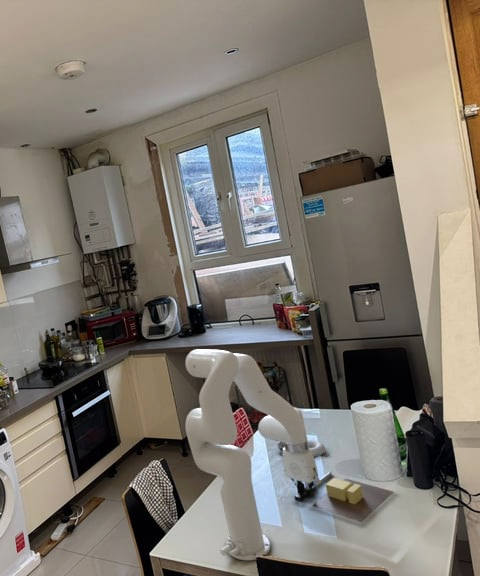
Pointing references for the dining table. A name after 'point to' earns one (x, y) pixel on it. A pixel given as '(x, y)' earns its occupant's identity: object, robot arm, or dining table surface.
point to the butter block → (338, 489)
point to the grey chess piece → (281, 447)
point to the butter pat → (355, 493)
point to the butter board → (361, 508)
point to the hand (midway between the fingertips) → (306, 497)
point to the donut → (316, 447)
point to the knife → (302, 495)
